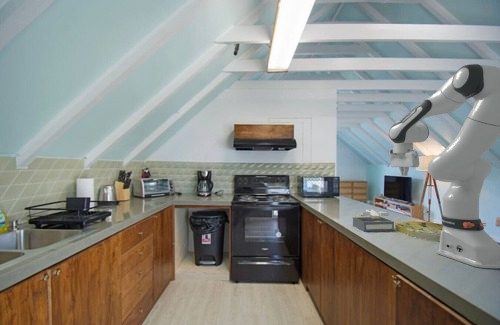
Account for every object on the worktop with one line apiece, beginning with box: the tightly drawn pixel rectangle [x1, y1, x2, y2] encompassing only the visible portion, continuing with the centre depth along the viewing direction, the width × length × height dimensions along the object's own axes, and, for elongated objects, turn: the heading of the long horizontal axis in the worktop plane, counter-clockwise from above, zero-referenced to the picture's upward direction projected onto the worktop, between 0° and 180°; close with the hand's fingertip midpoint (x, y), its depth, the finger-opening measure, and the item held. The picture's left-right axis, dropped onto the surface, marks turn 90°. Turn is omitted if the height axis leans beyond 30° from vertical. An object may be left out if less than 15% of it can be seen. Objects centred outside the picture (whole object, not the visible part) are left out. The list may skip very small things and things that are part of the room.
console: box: [352, 216, 395, 233], centre depth 145 cm, size 14×16×5 cm
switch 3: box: [375, 211, 390, 217], centre depth 145 cm, size 8×4×2 cm, turn 2°
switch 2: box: [364, 209, 381, 219], centre depth 145 cm, size 8×4×2 cm, turn 2°
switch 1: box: [356, 211, 370, 217], centre depth 145 cm, size 8×4×2 cm, turn 2°
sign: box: [394, 221, 443, 242], centre depth 133 cm, size 28×3×30 cm
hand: (404, 175), depth 141 cm, fingers closed
